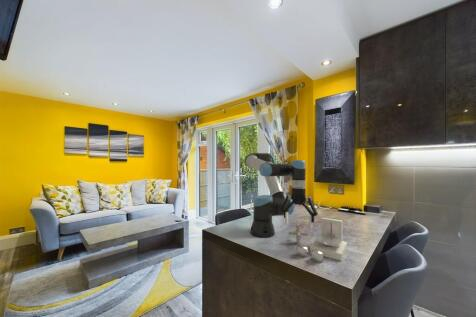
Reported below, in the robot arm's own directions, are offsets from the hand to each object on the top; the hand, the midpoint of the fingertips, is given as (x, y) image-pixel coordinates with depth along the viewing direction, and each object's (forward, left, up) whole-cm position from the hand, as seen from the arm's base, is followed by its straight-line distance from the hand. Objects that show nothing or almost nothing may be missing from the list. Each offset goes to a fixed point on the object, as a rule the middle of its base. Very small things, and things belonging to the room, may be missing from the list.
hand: (298, 226), depth 111 cm
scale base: (+16, 0, -9) cm, 18 cm away
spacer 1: (+7, -14, -9) cm, 18 cm away
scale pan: (+16, -1, -4) cm, 16 cm away
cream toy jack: (0, 0, -9) cm, 9 cm away
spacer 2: (+14, -15, -9) cm, 22 cm away
